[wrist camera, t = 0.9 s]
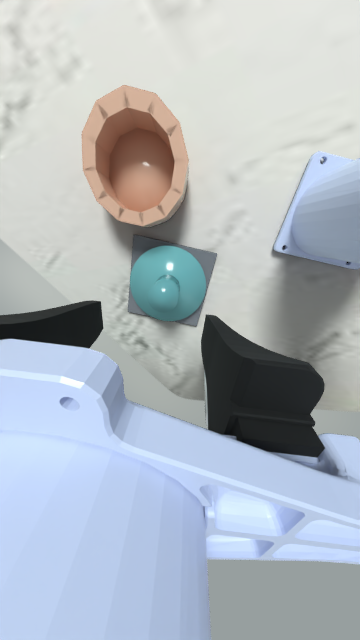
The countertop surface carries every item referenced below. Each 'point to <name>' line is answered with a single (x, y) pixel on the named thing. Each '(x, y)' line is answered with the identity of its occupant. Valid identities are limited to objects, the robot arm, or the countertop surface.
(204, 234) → the countertop surface
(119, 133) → the bowl
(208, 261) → the mat
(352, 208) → the robot arm
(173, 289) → the lid
